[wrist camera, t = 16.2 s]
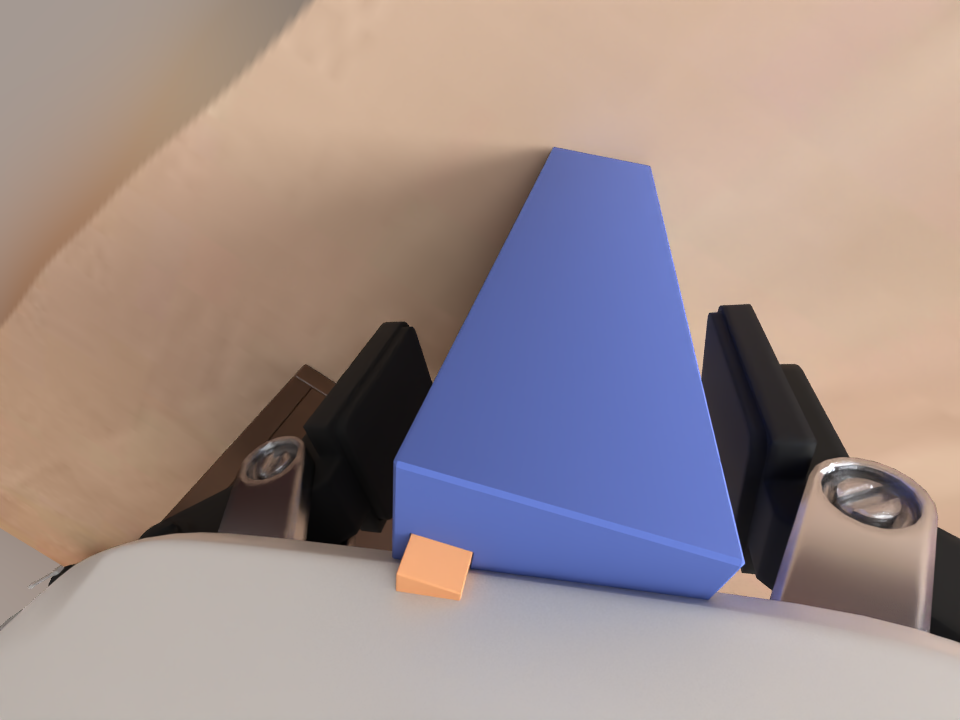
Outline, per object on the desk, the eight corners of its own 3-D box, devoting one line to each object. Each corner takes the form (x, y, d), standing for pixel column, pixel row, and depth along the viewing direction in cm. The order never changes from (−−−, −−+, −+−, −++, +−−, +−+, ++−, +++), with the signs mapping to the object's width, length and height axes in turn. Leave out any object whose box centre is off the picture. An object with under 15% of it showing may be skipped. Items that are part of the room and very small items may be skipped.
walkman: (551, 146, 13) (367, 500, 3) (651, 165, 12) (764, 618, 3) (505, 362, 17) (377, 753, 8) (576, 380, 17) (528, 806, 8)
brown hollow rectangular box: (305, 363, 20) (113, 573, 12) (545, 516, 23) (510, 771, 15) (229, 508, 30) (98, 673, 23) (401, 603, 33) (335, 781, 25)
